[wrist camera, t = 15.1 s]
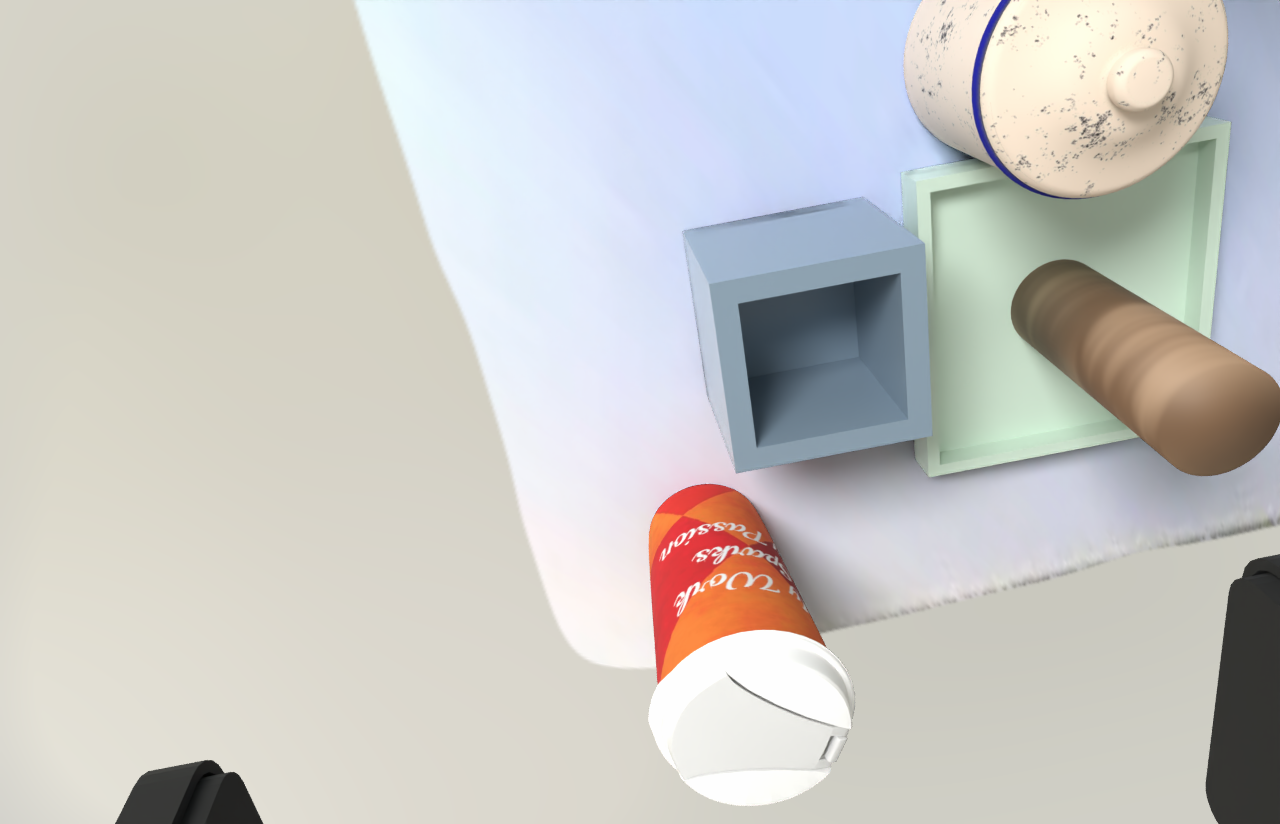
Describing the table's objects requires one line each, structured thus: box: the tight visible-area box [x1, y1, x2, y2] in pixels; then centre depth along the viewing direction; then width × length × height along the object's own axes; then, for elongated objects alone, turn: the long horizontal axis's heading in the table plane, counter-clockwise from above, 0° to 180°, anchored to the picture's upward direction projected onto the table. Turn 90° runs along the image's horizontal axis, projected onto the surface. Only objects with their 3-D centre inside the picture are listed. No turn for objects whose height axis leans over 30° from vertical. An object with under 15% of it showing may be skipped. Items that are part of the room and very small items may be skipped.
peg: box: [1011, 259, 1280, 476], centre depth 40 cm, size 4×4×13 cm
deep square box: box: [683, 197, 933, 473], centre depth 42 cm, size 8×8×8 cm
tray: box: [901, 116, 1231, 477], centre depth 46 cm, size 15×14×2 cm
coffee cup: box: [649, 484, 855, 806], centre depth 44 cm, size 8×8×15 cm
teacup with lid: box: [904, 0, 1228, 199], centre depth 36 cm, size 12×9×12 cm
